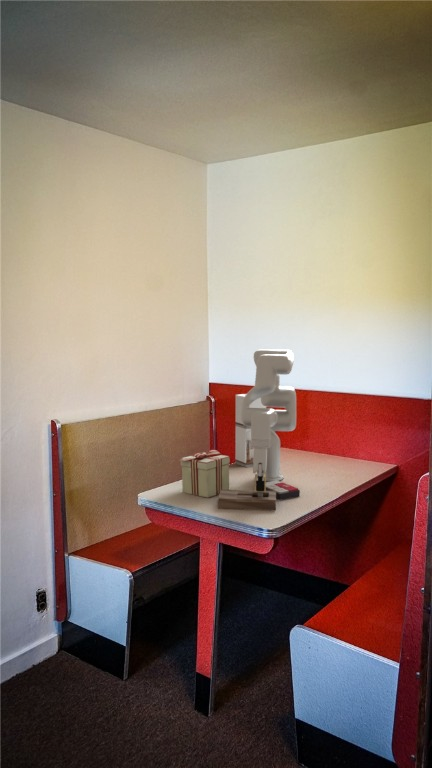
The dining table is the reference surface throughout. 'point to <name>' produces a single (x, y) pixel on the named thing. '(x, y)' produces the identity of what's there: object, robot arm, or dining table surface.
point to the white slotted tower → (244, 434)
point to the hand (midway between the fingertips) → (260, 488)
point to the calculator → (282, 490)
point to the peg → (260, 493)
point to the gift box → (205, 473)
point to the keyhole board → (246, 500)
